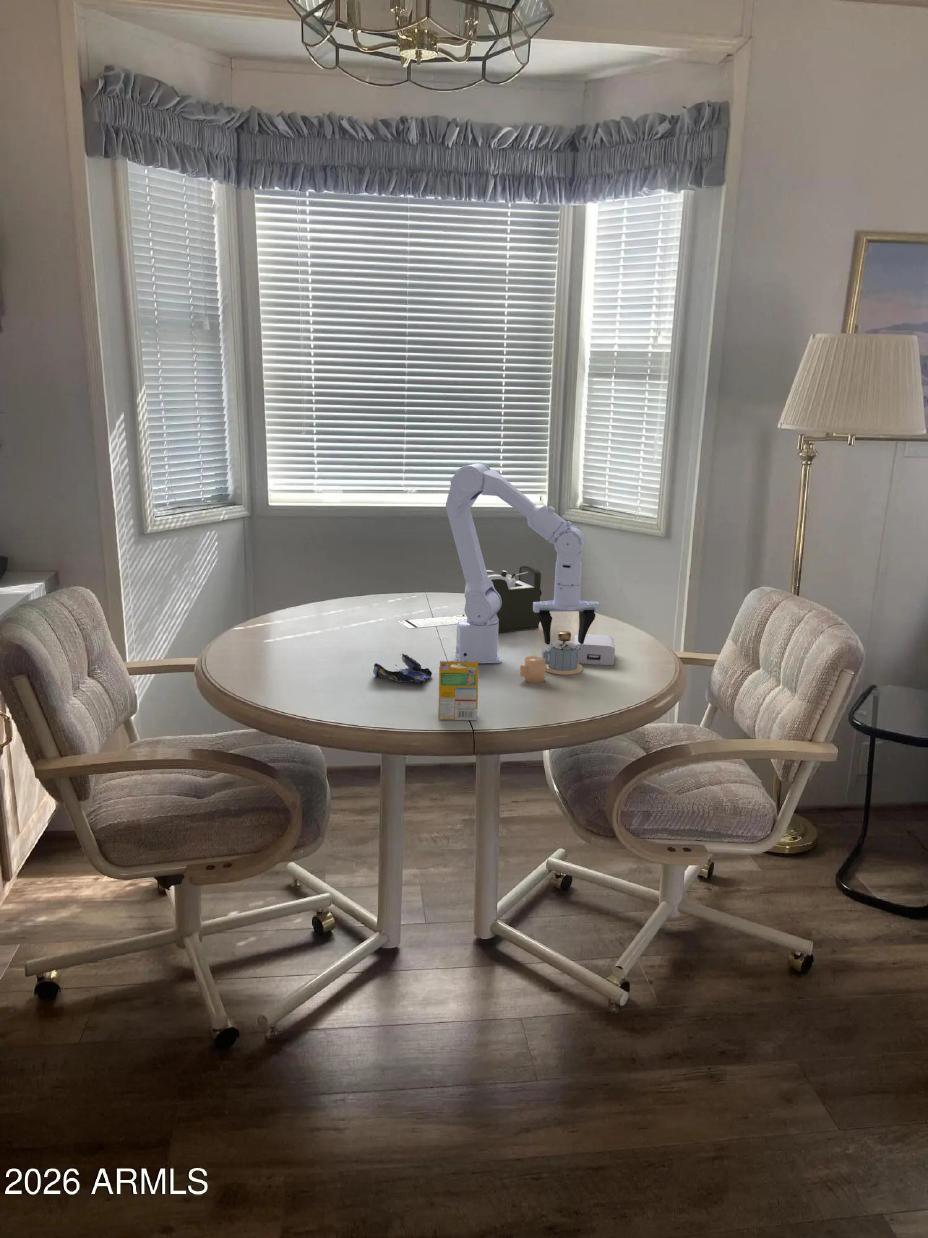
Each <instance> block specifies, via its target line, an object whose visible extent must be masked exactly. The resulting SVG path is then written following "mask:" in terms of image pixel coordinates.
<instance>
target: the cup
mask: <svg viewBox="0 0 928 1238" xmlns="http://www.w3.org/2000/svg"><path fill="white" fill-rule="evenodd" d="M545 665H546V659H545V658H543V657H542V656H537V655H536V656H535V655H534V656H533V655H530V656H527V657H525V658H524V664H521V665H519V667H520V669H519V677H521V678H523V680H524V681H525V682H527V681H528V682H527V683H531V684H540V683H541V684H542V683H543V682H545V680H546V671H545Z"/></svg>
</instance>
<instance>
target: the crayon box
mask: <svg viewBox="0 0 928 1238" xmlns="http://www.w3.org/2000/svg"><path fill="white" fill-rule="evenodd" d="M458 664H459V665H462V666H457V665H458ZM478 698H479V663H478V662H461V661H459V660H458V661H456V660H455V661H451V660H450V661H449V660H447V661H445V660H444V661H443V660H440V661H439V669H438V714H437V715H438V717H437V718H438V721H449V720H450V721H475V722H476V721H477V720H478V703H479V702H478V700H479V699H478Z"/></svg>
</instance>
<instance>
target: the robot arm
mask: <svg viewBox="0 0 928 1238" xmlns="http://www.w3.org/2000/svg"><path fill="white" fill-rule="evenodd" d="M480 495H482V496H492V497H494V496H495V497H498V498H500V500H502V501H504V502H505V503H506V504H507V505H509V506H510V507H512V508H513V509H515V510H516V511H518V513H520V514H521V515H523V516H524V517H525V518H526V521H527V526H528V527H529V528H531V529H532V530H533V531H534V532H536V533H537V534H538V535H539V536H541V538H543V539H544V540H546V541H547V542H548V543H549V544H553V547H554V550H555V552H556V560H555V561H556V562H555V566H554V567H555V572H554V587H553V589H554V590H553V600H544V601H543V600H542V601H540V602H533V611H534V612H535V613H537V615H538V617H539V619H540V624H541V628H542V633H543V638H544V639H543V640H544V644H546V645H548V646H549V645H551V628H552V623H553V622H552V621H553V617H552V614H551V613H555V612H562V613H563V612H578V623H579V624H578V632H577V634H578V642H579V643H580V644H584V640H585V637H586V634H587V633H588V631H589V629H590V627H591V626H592V624H593V622H595V621H594V620H595V619H596V613H599V612H600V605H601V604H600V602H598V601H591V600H590V601H588V600H581V591H582V589H581V587H582V573H583V562H582V561H583V551H582V549H583V548H584V547H585V544H586V535H585V533H584V531H582V529H581V528H580V527H579V526H577V525H572V524H573V523H572V522H571V521H569V520H568V521H566V520H565V519H564V518H563V517H562V516H560V515H559V514H557V513H556V512H555V510H556V508H554V507H553V506H552V505H549V506H547V504H540V505H537V504H536V503H534V502H533V501H531V499H530V498H528V496H526V495H525V494H524V493H523V492H521V491H520V490H519V489H517V488H516V487H515V486H514V485H513V484H512V483H511V482H510V481H508V480H507V479H506V478H505V477H503V475H502V474H501V473H500V472H498V471H496V470H495V469H494V468H493V469H491V468H490V467H489V465H487V464H486V463H483V462H478V461H477V462H474V463H472V464H469V465H463V466H461V467H459V468H458V469H457V470H456V472H455V473H454V474H453V476H452V478H451V479H450V486H449V491H448V495H447V498H446V502H445V510H446V514H447V518H448V522H449V525H450V529H451V532H452V535H453V536H452V537H453V540H454V544H455V548H456V551H457V554H458V559H459V563H460V567H461V569H462V571H461V572H462V574H463V578H464V581H465V587H464V593H463V594H464V597H465V605H464V615H466V616H467V620H466V621H461V622H458V623H457V624H456V639H455V640H456V644H455V645H456V646H455V654H456V655H455V656H456V658H457V660H458V661H461V662H478V664H501V663H502V659H501V657H500V656H499V654H498V651H499V649H498V648H499V647H498V646H499V633H498V628H499V619H498V617H497V612H498V611H499V610H500V608H501V605H502V600H501V597H500V595H499V594H498V592H497V591H496V590H495V588H494V585H493V582H492V581H491V580H490V578H489V577H488V575H487V571H486V570H487V568H486V564H485V560H484V556H483V552H482V549H481V545H480V541H479V537H478V533H477V529H476V526H475V522H474V519H473V514H472V511H471V509H472V507H473V505H474V504H475V502H476V501H477V499H478V497H479V496H480Z"/></svg>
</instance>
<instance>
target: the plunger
mask: <svg viewBox="0 0 928 1238" xmlns="http://www.w3.org/2000/svg"><path fill="white" fill-rule="evenodd" d="M571 638H572V632H570V631H569V630H568V631H567V630H560V631H558V634H557V640H558V642H562V646H563V647H565V645H566V642H571Z"/></svg>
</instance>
